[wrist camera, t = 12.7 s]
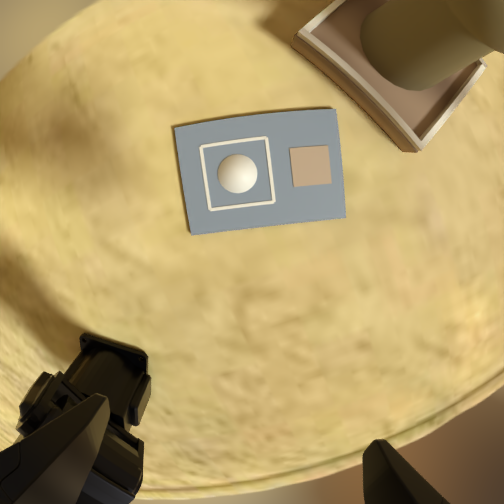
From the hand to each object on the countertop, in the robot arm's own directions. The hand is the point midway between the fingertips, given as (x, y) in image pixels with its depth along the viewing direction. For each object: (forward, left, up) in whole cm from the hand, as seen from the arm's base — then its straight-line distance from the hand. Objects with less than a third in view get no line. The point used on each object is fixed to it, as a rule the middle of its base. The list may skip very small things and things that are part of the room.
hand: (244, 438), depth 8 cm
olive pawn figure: (+6, +17, -11) cm, 21 cm away
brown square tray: (+6, +18, -13) cm, 23 cm away
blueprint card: (-1, +7, -13) cm, 15 cm away
